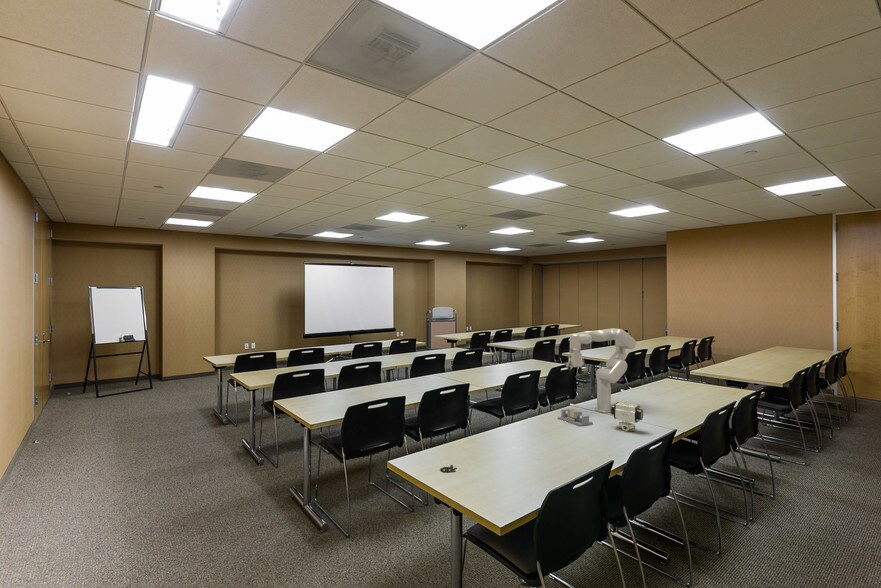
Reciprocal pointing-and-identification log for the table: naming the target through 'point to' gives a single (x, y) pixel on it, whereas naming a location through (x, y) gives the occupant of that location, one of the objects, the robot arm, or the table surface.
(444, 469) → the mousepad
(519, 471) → the table surface
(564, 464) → the table surface
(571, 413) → the coupler
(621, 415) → the ball valve
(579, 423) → the shaft stand
